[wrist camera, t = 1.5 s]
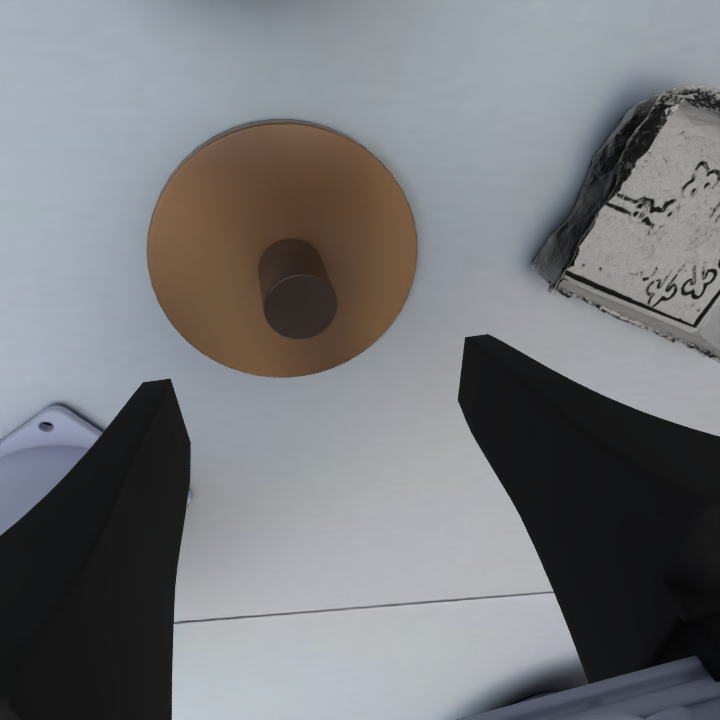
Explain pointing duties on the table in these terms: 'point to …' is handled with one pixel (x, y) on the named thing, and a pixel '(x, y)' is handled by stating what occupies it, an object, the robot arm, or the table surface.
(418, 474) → the table surface
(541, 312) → the table surface
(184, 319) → the knobbed round lid
